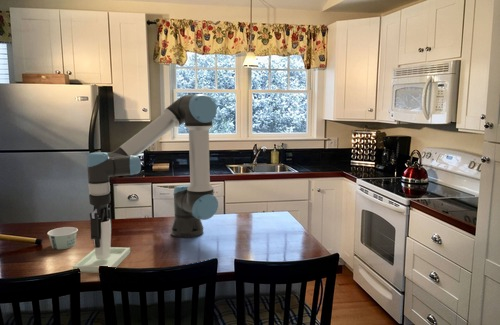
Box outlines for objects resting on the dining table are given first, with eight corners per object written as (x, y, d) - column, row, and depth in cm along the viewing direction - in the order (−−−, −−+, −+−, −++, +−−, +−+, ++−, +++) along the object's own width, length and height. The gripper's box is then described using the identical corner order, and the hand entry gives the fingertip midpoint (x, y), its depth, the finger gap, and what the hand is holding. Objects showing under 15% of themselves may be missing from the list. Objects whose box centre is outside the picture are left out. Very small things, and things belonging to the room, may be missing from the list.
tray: (130, 252, 164) (130, 247, 164) (110, 273, 144) (110, 267, 144) (97, 252, 165) (96, 247, 165) (73, 272, 145) (72, 266, 145)
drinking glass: (106, 261, 150) (104, 223, 148) (90, 260, 152) (87, 222, 150) (115, 255, 157) (113, 218, 155) (100, 253, 158) (98, 217, 156)
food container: (67, 251, 166) (66, 236, 165) (42, 249, 168) (40, 234, 167) (84, 241, 178) (83, 227, 177) (60, 240, 180) (59, 226, 179)
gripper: (100, 187, 160) (104, 242, 164) (77, 199, 141) (81, 261, 145) (119, 188, 160) (122, 243, 163) (98, 199, 141) (102, 261, 144)
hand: (103, 251), depth 154 cm, fingers closed on drinking glass, 6 cm apart
